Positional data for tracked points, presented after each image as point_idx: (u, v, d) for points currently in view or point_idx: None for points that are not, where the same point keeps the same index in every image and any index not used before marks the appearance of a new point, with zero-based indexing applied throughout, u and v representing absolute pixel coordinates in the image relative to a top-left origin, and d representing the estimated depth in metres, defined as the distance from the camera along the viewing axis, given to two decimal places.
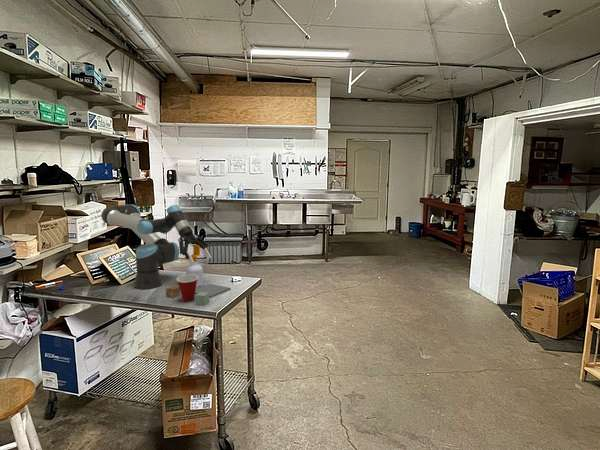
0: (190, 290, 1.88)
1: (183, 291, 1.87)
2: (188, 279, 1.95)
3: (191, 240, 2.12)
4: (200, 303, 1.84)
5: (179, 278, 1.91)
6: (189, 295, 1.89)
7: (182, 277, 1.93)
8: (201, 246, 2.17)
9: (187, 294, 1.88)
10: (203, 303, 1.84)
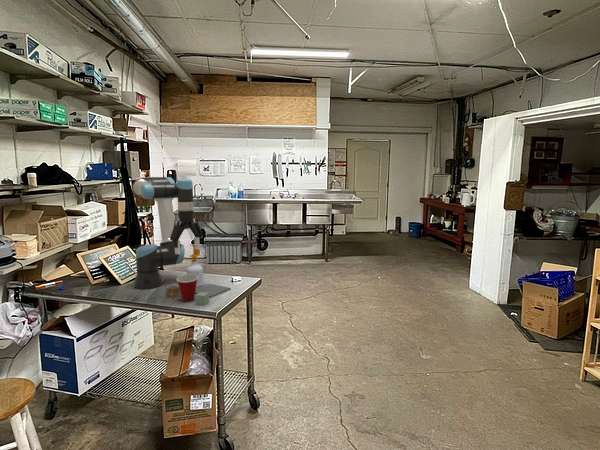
0: (190, 290, 1.88)
1: (183, 291, 1.87)
2: (188, 279, 1.95)
3: (188, 226, 1.87)
4: (200, 303, 1.84)
5: (179, 278, 1.91)
6: (189, 295, 1.89)
7: (182, 277, 1.93)
8: (195, 233, 1.93)
9: (187, 294, 1.88)
10: (203, 303, 1.84)
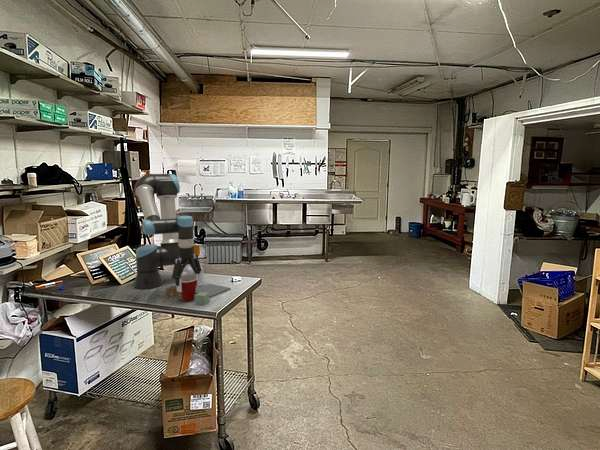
0: (190, 290, 1.88)
1: (183, 291, 1.87)
2: (188, 279, 1.95)
3: (188, 262, 1.88)
4: (200, 303, 1.84)
5: None
6: (189, 295, 1.89)
7: (182, 277, 1.93)
8: (194, 269, 1.94)
9: (187, 294, 1.88)
10: (203, 303, 1.84)
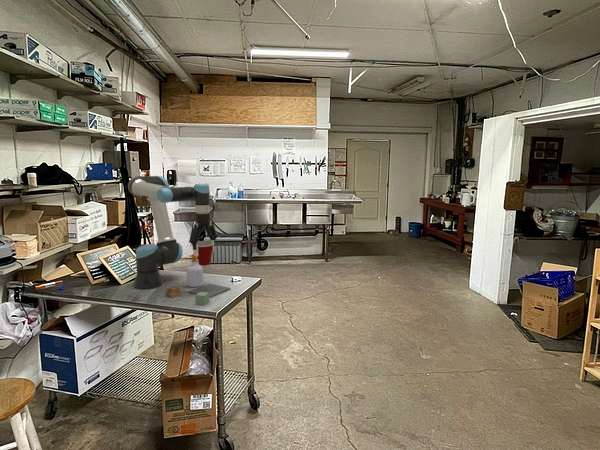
0: (206, 255, 1.96)
1: (200, 255, 1.96)
2: (204, 245, 2.03)
3: (204, 228, 1.96)
4: (200, 303, 1.84)
5: None
6: (205, 260, 1.97)
7: (199, 243, 2.02)
8: (210, 236, 2.02)
9: (203, 258, 1.96)
10: (203, 303, 1.84)
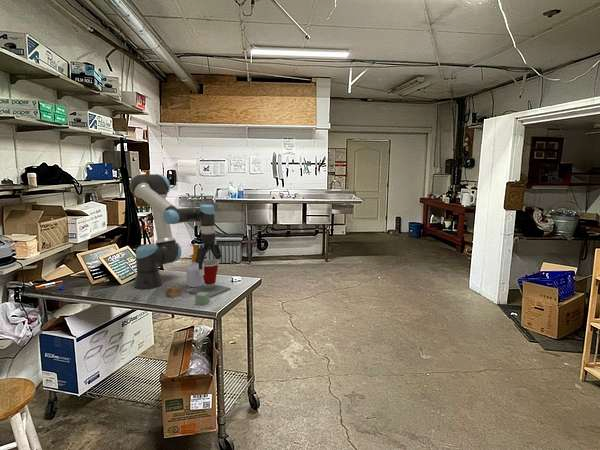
0: (212, 274, 2.01)
1: (205, 275, 2.00)
2: (209, 264, 2.08)
3: (209, 248, 2.01)
4: (200, 303, 1.84)
5: None
6: (211, 279, 2.02)
7: (204, 262, 2.06)
8: (215, 255, 2.07)
9: (209, 277, 2.01)
10: (203, 303, 1.84)
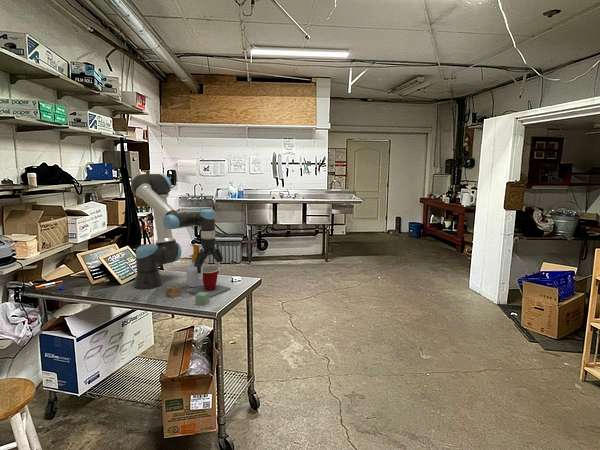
0: (212, 280, 2.02)
1: (206, 281, 2.01)
2: (210, 270, 2.08)
3: (210, 252, 2.02)
4: (200, 303, 1.84)
5: None
6: (211, 285, 2.02)
7: (204, 268, 2.07)
8: (216, 258, 2.08)
9: (209, 284, 2.02)
10: (203, 303, 1.84)
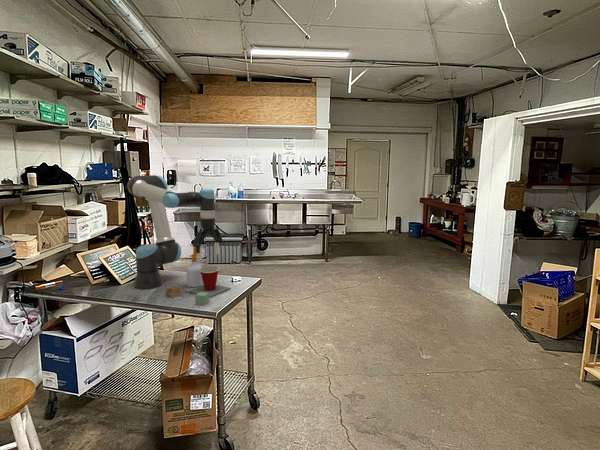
0: (212, 280, 2.02)
1: (206, 281, 2.01)
2: (209, 270, 2.08)
3: (209, 233, 2.00)
4: (200, 303, 1.84)
5: (201, 269, 2.05)
6: (211, 285, 2.02)
7: (204, 268, 2.07)
8: (215, 239, 2.06)
9: (209, 284, 2.02)
10: (203, 303, 1.84)
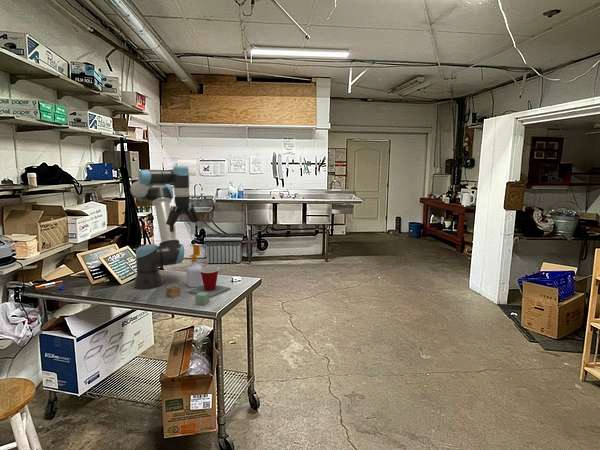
0: (212, 280, 2.02)
1: (206, 281, 2.01)
2: (209, 270, 2.08)
3: (183, 211, 1.94)
4: (200, 303, 1.84)
5: (201, 269, 2.05)
6: (211, 285, 2.02)
7: (204, 268, 2.07)
8: (191, 219, 2.00)
9: (209, 284, 2.02)
10: (203, 303, 1.84)
